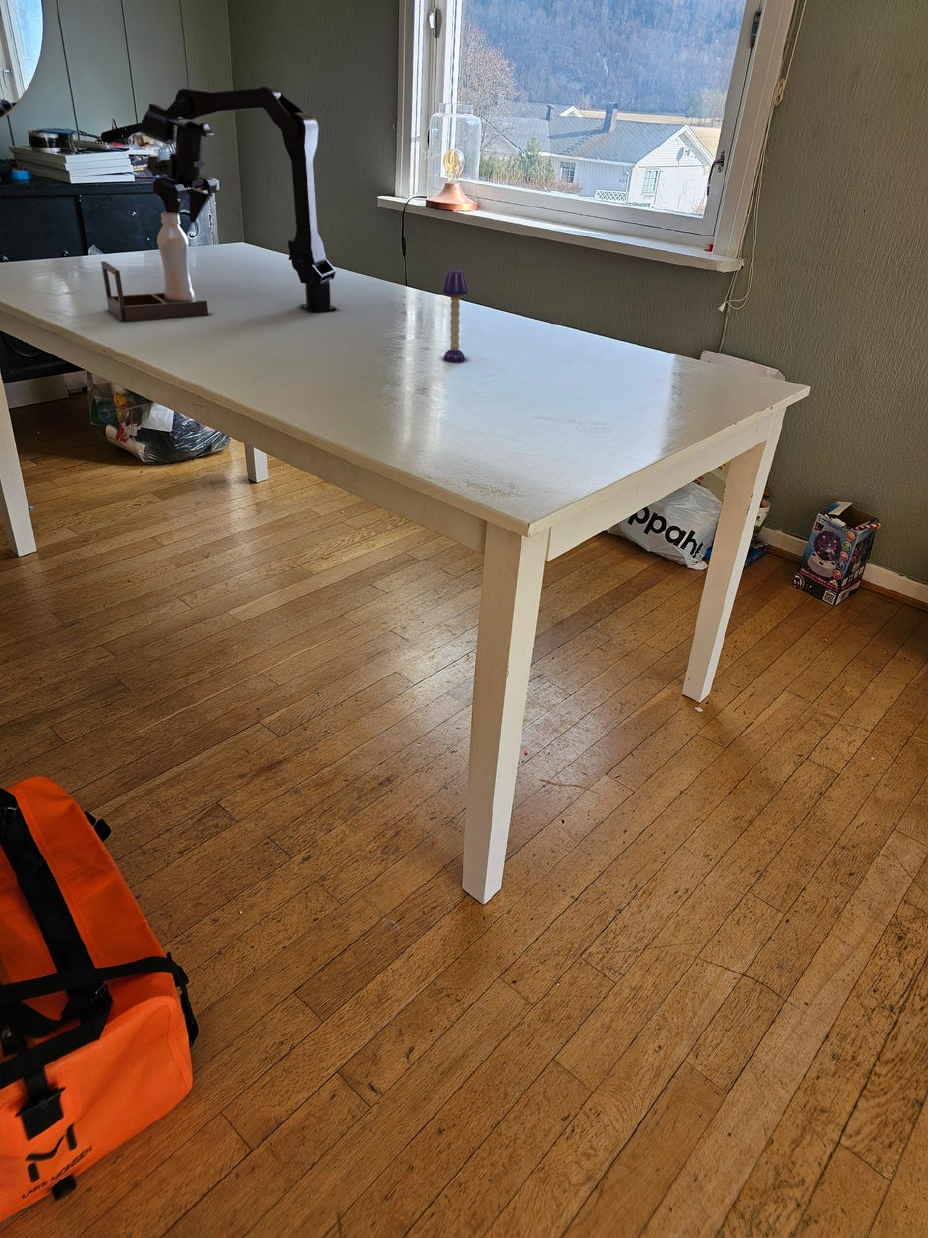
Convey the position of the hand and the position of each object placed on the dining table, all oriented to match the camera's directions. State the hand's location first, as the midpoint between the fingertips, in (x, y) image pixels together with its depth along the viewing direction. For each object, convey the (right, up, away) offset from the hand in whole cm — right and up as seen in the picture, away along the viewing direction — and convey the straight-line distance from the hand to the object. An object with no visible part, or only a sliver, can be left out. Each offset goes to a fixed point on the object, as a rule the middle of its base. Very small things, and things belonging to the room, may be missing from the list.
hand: (182, 224), depth 200 cm
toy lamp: (+64, -41, -29) cm, 81 cm away
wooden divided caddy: (-2, -25, -11) cm, 27 cm away
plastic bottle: (+2, -23, -8) cm, 25 cm away
